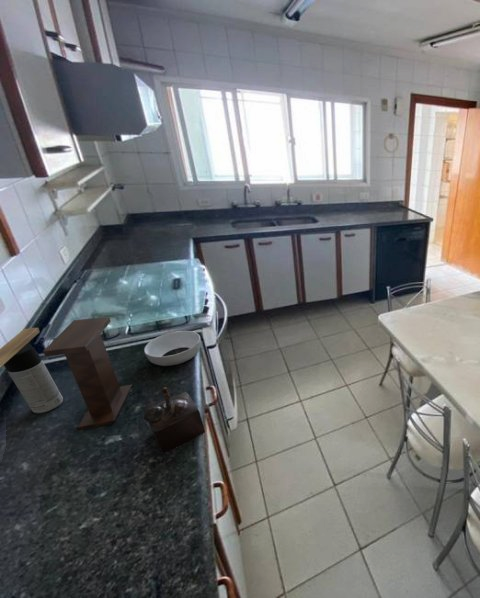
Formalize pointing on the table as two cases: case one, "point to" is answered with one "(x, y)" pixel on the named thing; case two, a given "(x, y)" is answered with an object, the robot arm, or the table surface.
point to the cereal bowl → (173, 347)
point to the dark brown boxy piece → (174, 421)
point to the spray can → (33, 380)
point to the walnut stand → (91, 370)
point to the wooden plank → (16, 344)
